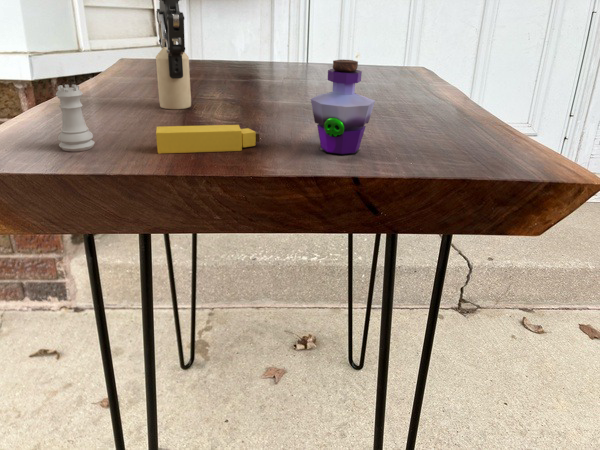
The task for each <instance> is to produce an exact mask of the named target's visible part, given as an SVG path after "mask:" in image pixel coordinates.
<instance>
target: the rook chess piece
mask: <svg viewBox="0 0 600 450" xmlns="http://www.w3.org/2000/svg"><path fill="white" fill-rule="evenodd" d="M63 85H64V86H63ZM63 85H61V84H60V85H58V86H57V91H56V93H55V96H56V97H57V99H59V101H60V104H59V108H60V110H61V113H62V114H61V121H62V123H61V129H60V133H59V134H58V137H57V139H58V141H60V142H59V144H58V146H59V148H60V149H61V150H63V151H65V152H70V153H71V152H74V153H75V152H77V153H78V152H83V151H88V150H90V149H92V148H93V147H94V145H95V143H96V142H95V141H94V140H92V139H93V138H94V134H93V133H92V132H91V130H89V129H90V128H89V127H88V126H87V124H86V121H85V117H84V114H83V106H84V105H83V104H82V102H81V98H82V96H83V95H84V93H83V92H82V90H81V89H80V85H78V84H71V87H70V85H69V84H63Z"/></svg>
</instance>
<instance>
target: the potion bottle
mask: <svg viewBox="0 0 600 450" xmlns="http://www.w3.org/2000/svg"><path fill="white" fill-rule="evenodd" d="M358 66H359V61H358V60H353V59H335V60H332V68H330V69H328V70H327V81H328V82H331V83H332V91H329V92H325V93H319V94H317V95H316V96H314V97H311V98H310V104H311V109H312V115H313V119H314V124H317V125H316V126H317V133H318V138H319V143H320V148H319V151H321V152H323V153H325V154H326V155H333V156H339V157H340V156H342V157H344V156H351V155H352V156H354V155H356V154H358V153H359V152H360V147H361V143H362V140H363V137H364V132H365V130H366V124H369V123H370V122H369V121H370V118H371V115H372V112H373V110H374V106H375V103H376V100H375V99H372V98H370V97H367V96H364V95H362V94H359V93H355V91H356V84H359V83H360V82H362V74H363V73H362V72H363V71H362V70H359V69H358Z"/></svg>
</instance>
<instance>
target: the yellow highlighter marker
mask: <svg viewBox="0 0 600 450" xmlns="http://www.w3.org/2000/svg"><path fill="white" fill-rule="evenodd" d="M155 139H156V148H157V154H160V155H161V154H187V153H188V154H189V153H190V154H191V153H218V152H242V151H243V148H251V147H256V143H260V132H259V131H255V130H252V129H251V128H249V127H245V128H241V127H240V124H211V125H209V124H208V125H172V126H171V125H170V126H169V125H168V126H156V130H155Z"/></svg>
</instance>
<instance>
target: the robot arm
mask: <svg viewBox="0 0 600 450" xmlns="http://www.w3.org/2000/svg"><path fill="white" fill-rule="evenodd" d="M158 1H159V3H158V5H159V8H156V11H155V19H156V22H157V35H158V42H159V45H160V48H161V49H162V48H164V47H167V53H168V63H169V76H170V77H171V78H173V79H174V78H182V77H183V64H182V55H183V53H184V52H185V53H186V47H185V46H186V44H185V15H184V12H182V11H180V4H179V2H180V1H181V0H158Z"/></svg>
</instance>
